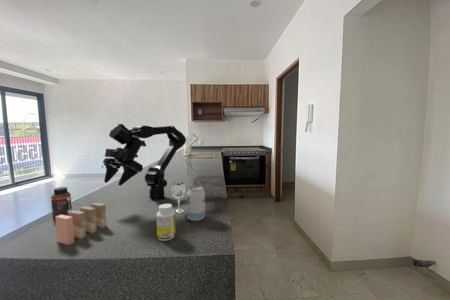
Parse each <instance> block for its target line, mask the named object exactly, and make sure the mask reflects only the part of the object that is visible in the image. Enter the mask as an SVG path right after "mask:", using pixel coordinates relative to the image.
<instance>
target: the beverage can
mask: <svg viewBox="0 0 450 300" xmlns="http://www.w3.org/2000/svg"><path fill="white" fill-rule="evenodd" d="M205 217H206V192H205V190H204V187H203V186H199V185H198V186H197V185H195V186H190V187H188V190H187V192H186V218H187V219H188V220H189V221H192V222H199V221H202V220H203V219H204V218H205Z"/></svg>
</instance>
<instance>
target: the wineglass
mask: <svg viewBox="0 0 450 300" xmlns="http://www.w3.org/2000/svg"><path fill="white" fill-rule="evenodd" d="M186 193H187V192H186V186H185V182H182V181H178V182H173V183H172V184H171V196H172V197H173V198H175V199H177V205H178V208H177V209H174V211H175V214H183V213H184V212H185V209H182V208H180V203H181V199H182V198H184V197H185V195H186Z"/></svg>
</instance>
